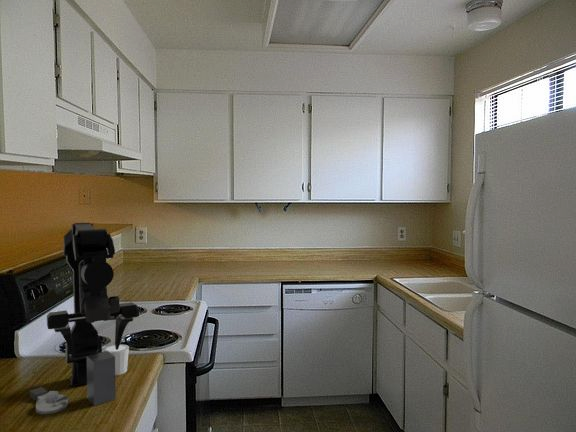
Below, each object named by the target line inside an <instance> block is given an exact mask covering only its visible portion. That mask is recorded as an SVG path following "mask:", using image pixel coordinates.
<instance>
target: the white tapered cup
mask: <svg viewBox="0 0 576 432" xmlns="http://www.w3.org/2000/svg"><path fill="white" fill-rule="evenodd" d="M129 350H130V347H129V345H127V344H124V343H123V344H121V343H120V345H119V348H118V350H116V348H115V344H111V345H108V346H106V347H105V348H104V349H103V352H105V351H108V352H109V353H111V354H112V355H113V356H115V376H120V375H122V374H125V373H127V371H128V365H129V364H128V363H129V353H130V352H129Z"/></svg>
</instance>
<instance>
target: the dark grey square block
mask: <svg viewBox="0 0 576 432" xmlns="http://www.w3.org/2000/svg"><path fill="white" fill-rule="evenodd" d="M86 393H87V396H86V397H87V400H88V401H89V402H90V403H91V404H92V405H93V406H94V407H96V406H98V405H101V404H105V403H108V402H112V401H114V399H115V400H116V398H117V395H116V375H115V356H113V355H112V354H111V353H109V352H108V351H105V352H104V351H102V352H101V353H97V354H93V355H88V356H87V384H86ZM111 400H112V401H111Z"/></svg>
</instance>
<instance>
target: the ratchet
mask: <svg viewBox="0 0 576 432" xmlns="http://www.w3.org/2000/svg"><path fill="white" fill-rule="evenodd" d="M29 397H30V398H31V399H32V400H34V401H35V402H36V403H35V413H37V414H38V415H52V414H56V413H58V412H61V411H63V410H66V408H67V407H68V406H69V405H68V404H69V402H68V400H69V399H68V396H67V395H65V394H59V391H58V390H49V391H48V390H47V389H45V388H44V387H42V386H40V387H37V388H34V389H30V390H29Z"/></svg>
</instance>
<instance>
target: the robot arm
mask: <svg viewBox="0 0 576 432" xmlns="http://www.w3.org/2000/svg"><path fill="white" fill-rule="evenodd" d="M62 251H63V253H62V254H63V256H64V257H65V259H66V260H65V261H66V263H67V265H68V266H69V268H70V269H71V270H72V287H73V291H72V292H73V312H72V313H68V311H67V310H58V311H51V312H50V311H49V312H48V313H47V315H46V326H47V327H46V328H47V329H48V330H54V332H55V333H60V334H61V335H62V336H63V339H64V340H65V350H64V351H65V362H66V364H67V365H69V364H71V375H70V376H69V381H70V387H77V386H82V385H87V356H88V355H93V354H97V353H101V352H103V346H104V341H103V340H102V339H101V336H99V332H98V330H97V329H96V327H95V326H94V325H93V323H95V322H100V321H103V322H106V321H109V320H111V317H112V318H113V317H115V334H114V335H115V336H114V345H115V348H116V350H118V348H119V345H120V344H121V341H122V337H123V336H124V332H125V331H126V327H127V326H128V325H129V323H130V322H133V321H134V318H139V317H140V307H139V306H138V305H137V304H136V303H134V302H132V301H131V302H124V303H120V297H119V296H118V295H114V296H108V285H110V284H111V282H112V281H113V279H114V273H115V272H114V269H113V267H112V265H110V263H109V262H107V259H114V255H115V253H116V249H115V244H114V239H113V237H112V236H111V233H108V230H107V229H106V228H95V226H94V223H93V222H92V223H91V222H74V223H72V224H71V228H70V229H69V230H68V232H66V233H65V235H64V236H63V242H62ZM70 323H74V324H73V325H72V327H71V326H70V325H69V324H70Z"/></svg>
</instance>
